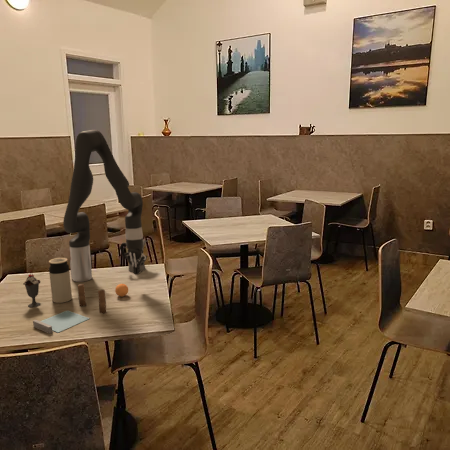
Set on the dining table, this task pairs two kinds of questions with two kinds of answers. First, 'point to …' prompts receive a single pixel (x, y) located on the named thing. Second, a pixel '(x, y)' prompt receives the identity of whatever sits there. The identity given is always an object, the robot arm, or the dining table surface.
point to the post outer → (102, 301)
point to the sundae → (32, 289)
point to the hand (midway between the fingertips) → (137, 274)
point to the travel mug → (60, 280)
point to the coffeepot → (130, 260)
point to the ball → (121, 290)
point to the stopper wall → (42, 326)
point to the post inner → (81, 295)
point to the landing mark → (64, 320)
